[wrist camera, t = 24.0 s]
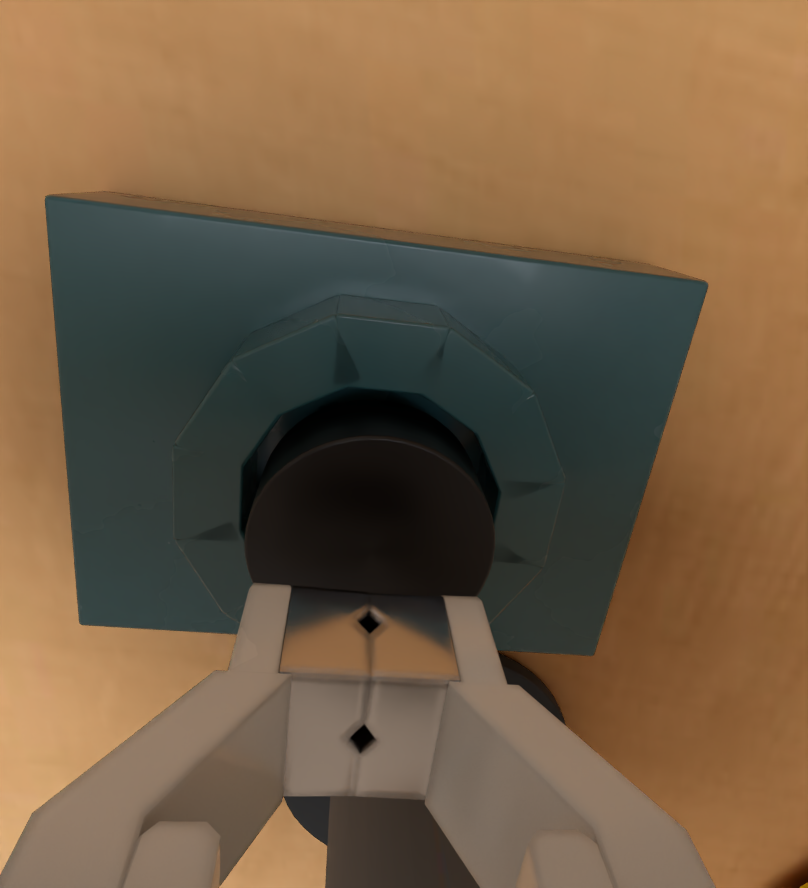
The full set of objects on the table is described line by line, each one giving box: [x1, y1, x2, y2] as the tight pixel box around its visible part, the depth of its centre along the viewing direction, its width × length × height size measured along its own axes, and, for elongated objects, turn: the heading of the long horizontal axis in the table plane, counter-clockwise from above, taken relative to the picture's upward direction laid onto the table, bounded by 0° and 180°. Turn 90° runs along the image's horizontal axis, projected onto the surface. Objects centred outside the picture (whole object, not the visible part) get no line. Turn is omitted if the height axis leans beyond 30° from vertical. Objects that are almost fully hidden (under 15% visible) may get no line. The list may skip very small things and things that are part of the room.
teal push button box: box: [45, 191, 708, 656], centre depth 13 cm, size 12×9×4 cm
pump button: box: [244, 399, 495, 597], centre depth 11 cm, size 4×4×2 cm
